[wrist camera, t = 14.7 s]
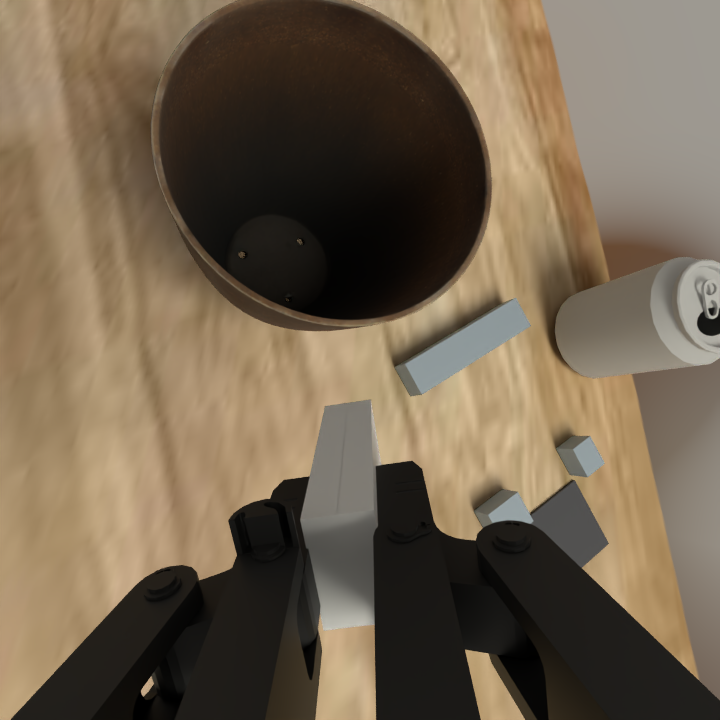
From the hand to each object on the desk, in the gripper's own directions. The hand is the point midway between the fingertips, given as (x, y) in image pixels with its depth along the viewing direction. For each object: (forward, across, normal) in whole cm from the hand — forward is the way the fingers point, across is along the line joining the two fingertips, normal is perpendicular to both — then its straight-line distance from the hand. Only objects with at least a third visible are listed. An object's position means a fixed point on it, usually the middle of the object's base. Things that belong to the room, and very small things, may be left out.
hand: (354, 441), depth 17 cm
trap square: (+21, +14, -20) cm, 32 cm away
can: (+28, +18, -6) cm, 34 cm away
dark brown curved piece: (+22, -5, +5) cm, 23 cm away
